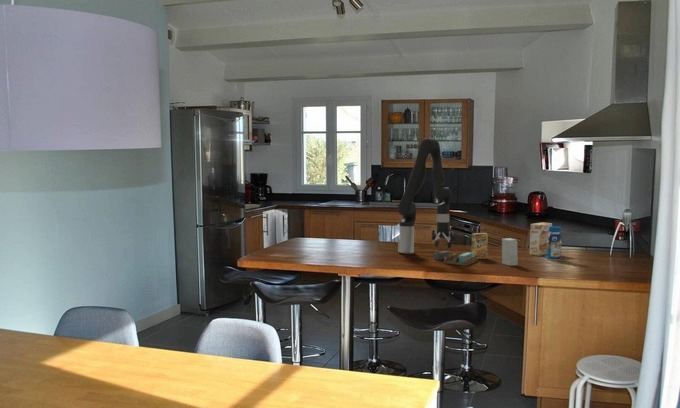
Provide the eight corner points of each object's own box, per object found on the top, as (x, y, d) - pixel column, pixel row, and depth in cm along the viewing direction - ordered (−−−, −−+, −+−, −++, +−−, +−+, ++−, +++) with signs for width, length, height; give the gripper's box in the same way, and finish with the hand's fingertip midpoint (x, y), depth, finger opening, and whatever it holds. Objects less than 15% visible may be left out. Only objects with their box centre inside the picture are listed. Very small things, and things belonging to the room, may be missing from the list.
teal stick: (466, 259, 351) (466, 252, 351) (472, 259, 349) (472, 252, 349) (458, 262, 341) (458, 255, 341) (464, 262, 339) (464, 255, 339)
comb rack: (466, 265, 335) (466, 259, 335) (443, 263, 343) (443, 257, 342) (477, 260, 350) (477, 255, 350) (455, 258, 358) (455, 252, 358)
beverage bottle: (550, 257, 362) (551, 225, 360) (563, 259, 356) (564, 226, 354) (543, 259, 356) (544, 226, 354) (557, 261, 350) (558, 228, 348)
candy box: (474, 259, 356) (475, 234, 354) (470, 258, 360) (471, 233, 358) (487, 258, 358) (488, 233, 357) (483, 257, 362) (484, 232, 361)
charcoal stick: (438, 260, 353) (438, 253, 352) (433, 259, 355) (433, 253, 355) (449, 257, 361) (449, 251, 361) (444, 257, 364) (444, 250, 363)
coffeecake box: (539, 255, 369) (540, 224, 367) (528, 254, 374) (529, 223, 373) (551, 253, 379) (552, 223, 377) (541, 251, 384) (542, 222, 383)
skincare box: (517, 265, 337) (518, 239, 336) (508, 265, 336) (508, 240, 334) (510, 262, 345) (511, 237, 344) (500, 263, 344) (501, 237, 342)
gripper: (456, 221, 355) (456, 248, 356) (436, 219, 364) (436, 245, 365) (450, 222, 349) (450, 249, 350) (429, 220, 358) (429, 247, 360)
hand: (443, 247), depth 358 cm, fingers open, 8 cm apart
